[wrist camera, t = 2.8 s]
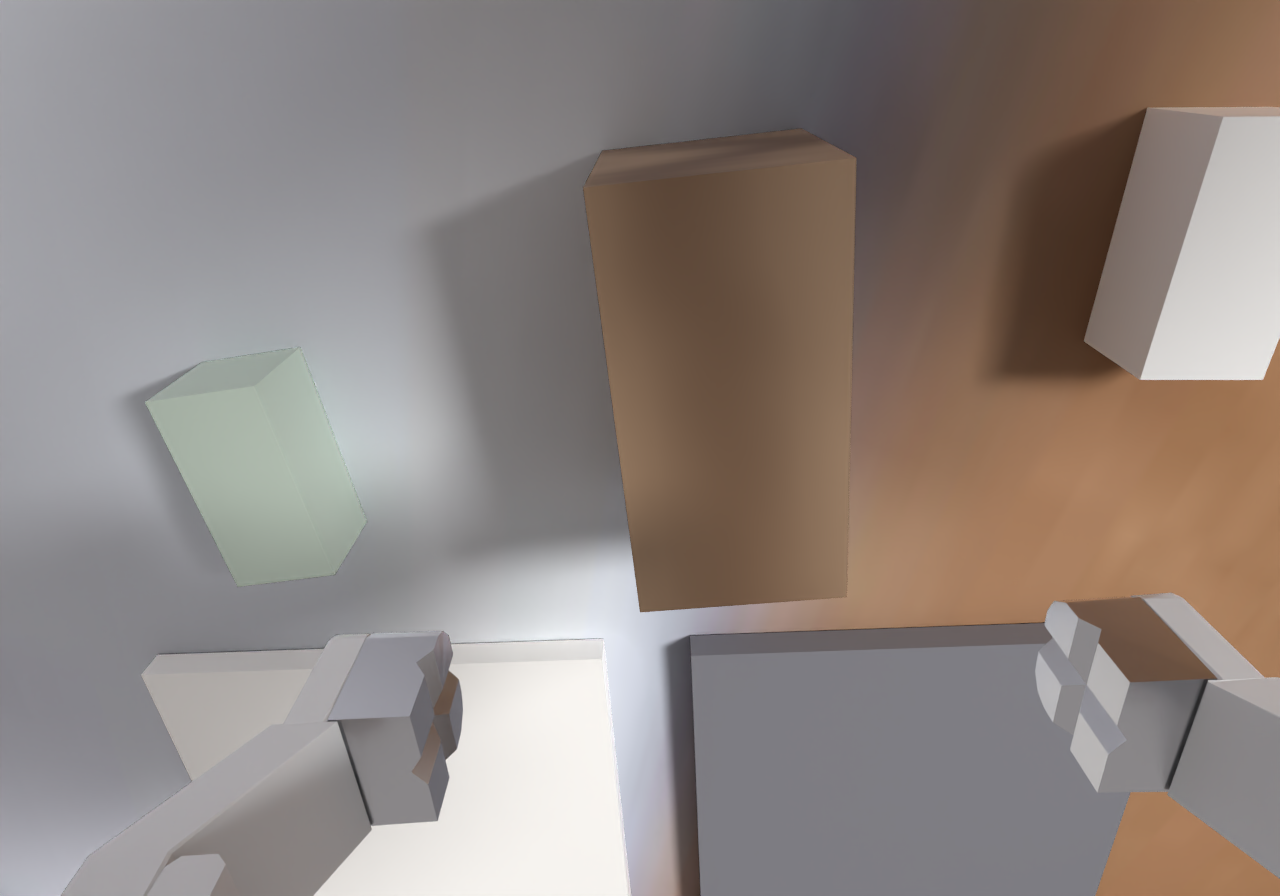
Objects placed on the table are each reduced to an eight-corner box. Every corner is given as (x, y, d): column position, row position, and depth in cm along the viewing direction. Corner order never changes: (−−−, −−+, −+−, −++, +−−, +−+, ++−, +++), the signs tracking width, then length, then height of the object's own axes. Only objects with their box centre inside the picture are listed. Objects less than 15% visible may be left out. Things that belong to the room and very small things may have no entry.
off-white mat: (603, 638, 27) (601, 658, 26) (633, 917, 34) (633, 940, 33) (157, 654, 27) (141, 674, 27) (281, 924, 35) (271, 947, 34)
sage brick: (205, 359, 22) (144, 402, 20) (302, 344, 22) (254, 385, 19) (281, 529, 25) (237, 587, 22) (369, 518, 25) (334, 575, 22)
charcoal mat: (1164, 618, 26) (1182, 638, 25) (1071, 908, 33) (1082, 932, 32) (689, 635, 27) (691, 655, 26) (701, 915, 34) (702, 939, 33)
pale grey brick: (1143, 107, 19) (1223, 116, 16) (1267, 106, 19) (1367, 116, 16) (1080, 338, 22) (1139, 379, 19) (1187, 339, 22) (1262, 379, 19)
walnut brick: (800, 127, 19) (856, 157, 14) (803, 474, 24) (847, 596, 18) (602, 149, 20) (582, 187, 14) (643, 487, 24) (640, 612, 19)
